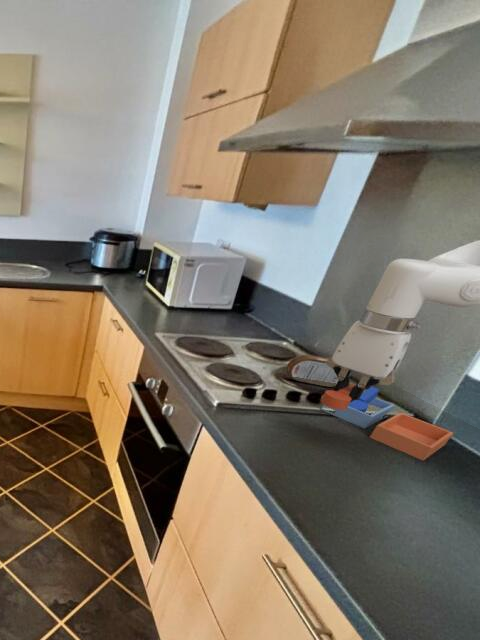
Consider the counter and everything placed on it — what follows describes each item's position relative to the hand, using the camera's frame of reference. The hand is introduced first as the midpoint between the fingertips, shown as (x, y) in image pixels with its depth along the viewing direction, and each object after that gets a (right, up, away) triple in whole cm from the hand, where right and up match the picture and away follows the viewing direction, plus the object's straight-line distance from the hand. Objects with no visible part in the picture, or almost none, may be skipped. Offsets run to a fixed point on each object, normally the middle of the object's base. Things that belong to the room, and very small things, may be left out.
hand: (343, 398), depth 94 cm
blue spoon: (+18, -2, +15) cm, 23 cm away
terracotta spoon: (-1, -1, 0) cm, 1 cm away
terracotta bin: (+19, -10, +4) cm, 22 cm away
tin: (+17, +3, +30) cm, 35 cm away
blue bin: (+16, -4, +15) cm, 23 cm away
